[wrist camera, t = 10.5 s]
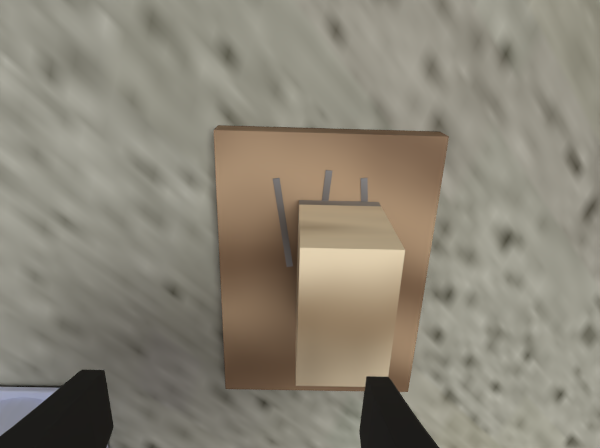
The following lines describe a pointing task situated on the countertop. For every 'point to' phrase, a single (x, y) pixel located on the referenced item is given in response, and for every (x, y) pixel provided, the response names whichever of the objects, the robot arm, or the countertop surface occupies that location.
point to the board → (284, 233)
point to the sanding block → (345, 292)
